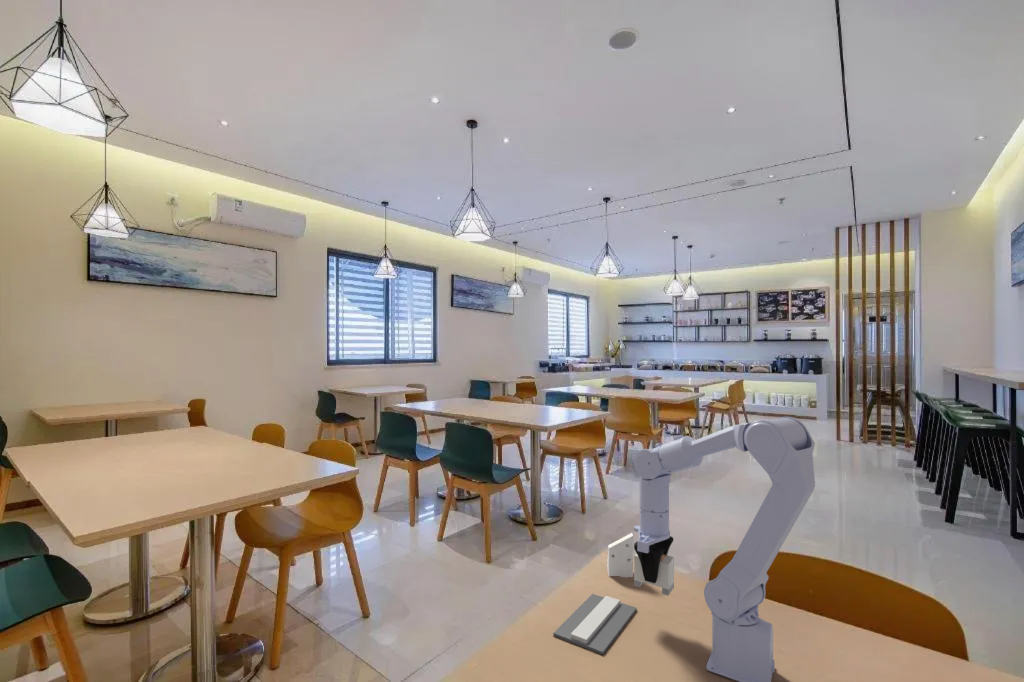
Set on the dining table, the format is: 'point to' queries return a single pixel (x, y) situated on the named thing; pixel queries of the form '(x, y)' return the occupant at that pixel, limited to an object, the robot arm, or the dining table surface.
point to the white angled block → (621, 557)
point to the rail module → (664, 574)
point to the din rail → (596, 623)
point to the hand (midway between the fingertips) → (654, 576)
